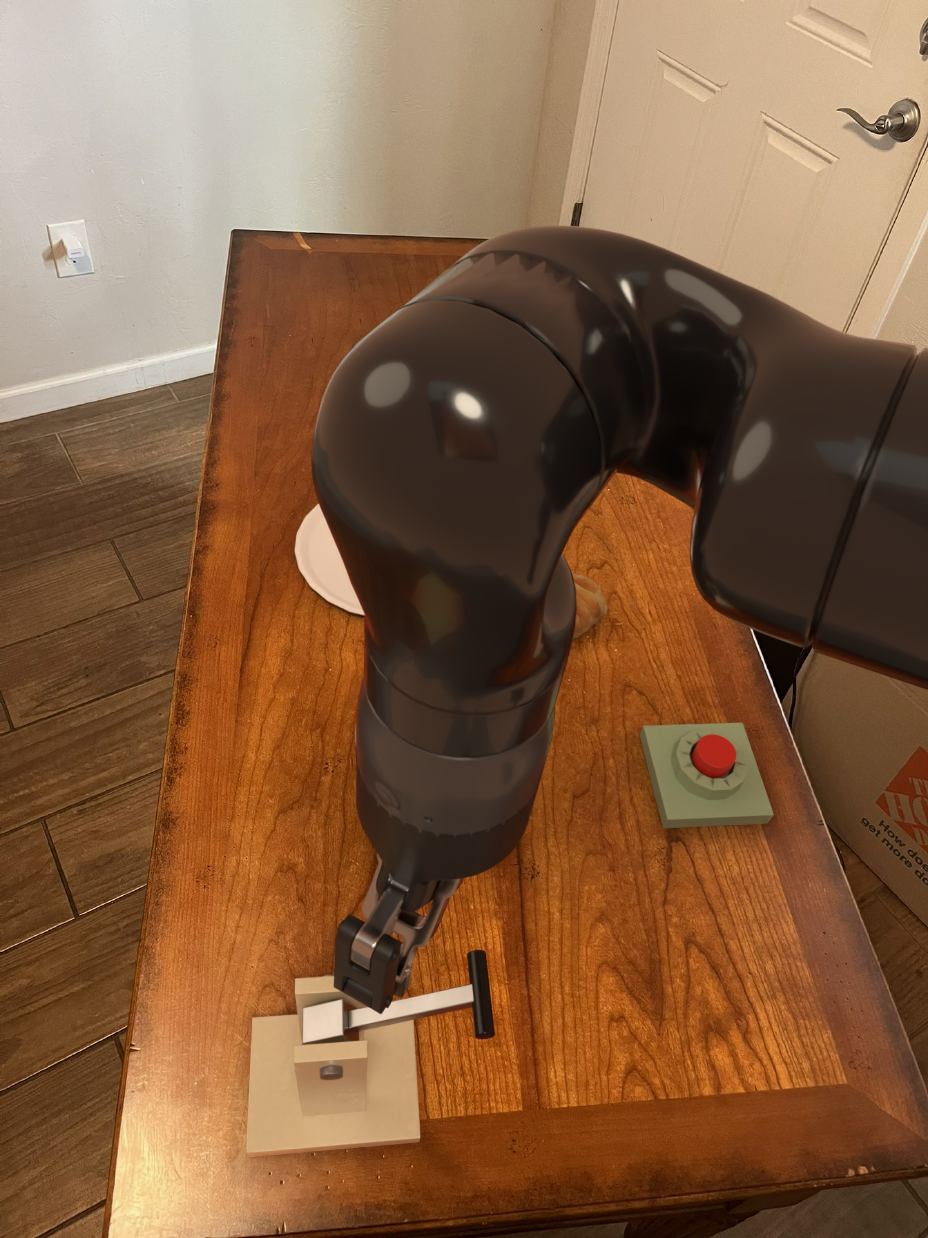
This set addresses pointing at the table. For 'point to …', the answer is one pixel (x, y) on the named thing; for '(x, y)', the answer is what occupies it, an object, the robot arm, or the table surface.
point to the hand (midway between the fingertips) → (427, 911)
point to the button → (714, 755)
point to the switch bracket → (329, 1083)
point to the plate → (324, 563)
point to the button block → (703, 778)
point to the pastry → (587, 604)
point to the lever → (404, 1009)
